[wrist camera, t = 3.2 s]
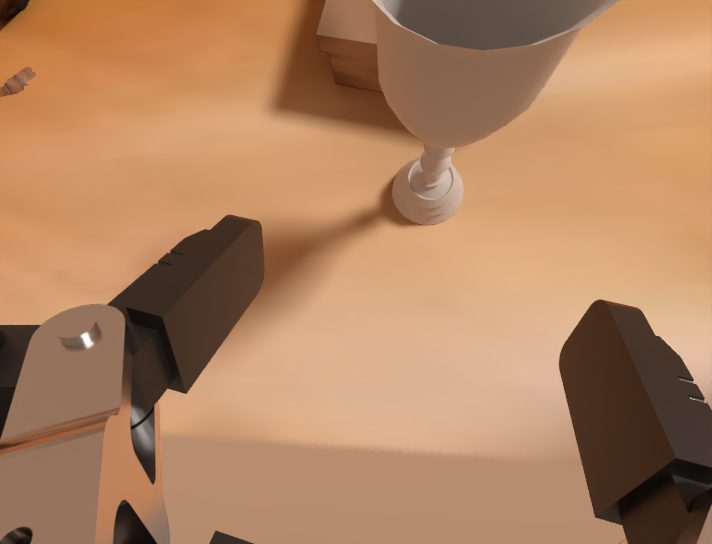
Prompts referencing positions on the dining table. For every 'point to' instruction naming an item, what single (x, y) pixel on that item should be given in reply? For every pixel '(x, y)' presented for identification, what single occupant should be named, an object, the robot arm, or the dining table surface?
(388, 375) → the dining table surface
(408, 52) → the chalice
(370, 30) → the square lamp base
